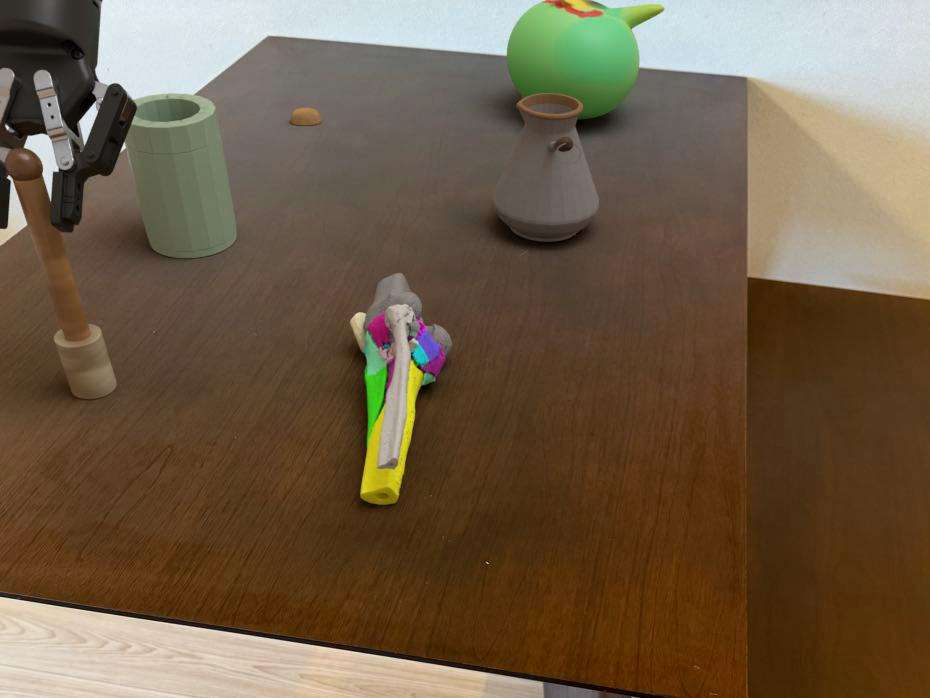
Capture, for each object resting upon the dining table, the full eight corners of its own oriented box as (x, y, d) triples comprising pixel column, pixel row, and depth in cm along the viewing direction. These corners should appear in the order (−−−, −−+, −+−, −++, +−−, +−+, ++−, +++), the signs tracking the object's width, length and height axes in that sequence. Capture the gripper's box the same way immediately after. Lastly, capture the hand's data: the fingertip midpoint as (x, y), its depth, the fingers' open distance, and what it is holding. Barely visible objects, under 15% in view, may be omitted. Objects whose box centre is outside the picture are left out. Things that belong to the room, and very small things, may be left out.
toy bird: (481, 105, 131) (482, -16, 121) (572, 82, 139) (580, -34, 129) (570, 148, 121) (580, 20, 111) (663, 120, 130) (679, -2, 119)
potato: (321, 125, 124) (320, 111, 123) (290, 126, 123) (288, 112, 122) (321, 117, 126) (320, 103, 125) (290, 118, 125) (288, 104, 124)
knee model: (364, 547, 75) (378, 337, 90) (460, 518, 72) (457, 309, 88) (301, 474, 68) (328, 261, 84) (404, 440, 66) (412, 228, 81)
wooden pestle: (65, 399, 79) (-18, 158, 65) (78, 374, 82) (0, 138, 68) (110, 399, 79) (37, 159, 66) (121, 375, 82) (53, 139, 68)
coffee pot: (489, 202, 109) (491, 61, 99) (590, 203, 110) (602, 63, 100) (499, 298, 94) (503, 142, 83) (616, 297, 94) (635, 143, 84)
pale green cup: (140, 258, 97) (107, 126, 88) (159, 219, 103) (130, 92, 94) (229, 259, 97) (205, 128, 88) (243, 220, 104) (222, 94, 95)
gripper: (-88, -47, 66) (-106, 202, 65) (121, -36, 65) (105, 213, 65) (-25, 16, 73) (-41, 240, 73) (162, 26, 73) (148, 250, 72)
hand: (28, 226), depth 69 cm, fingers open, 4 cm apart
